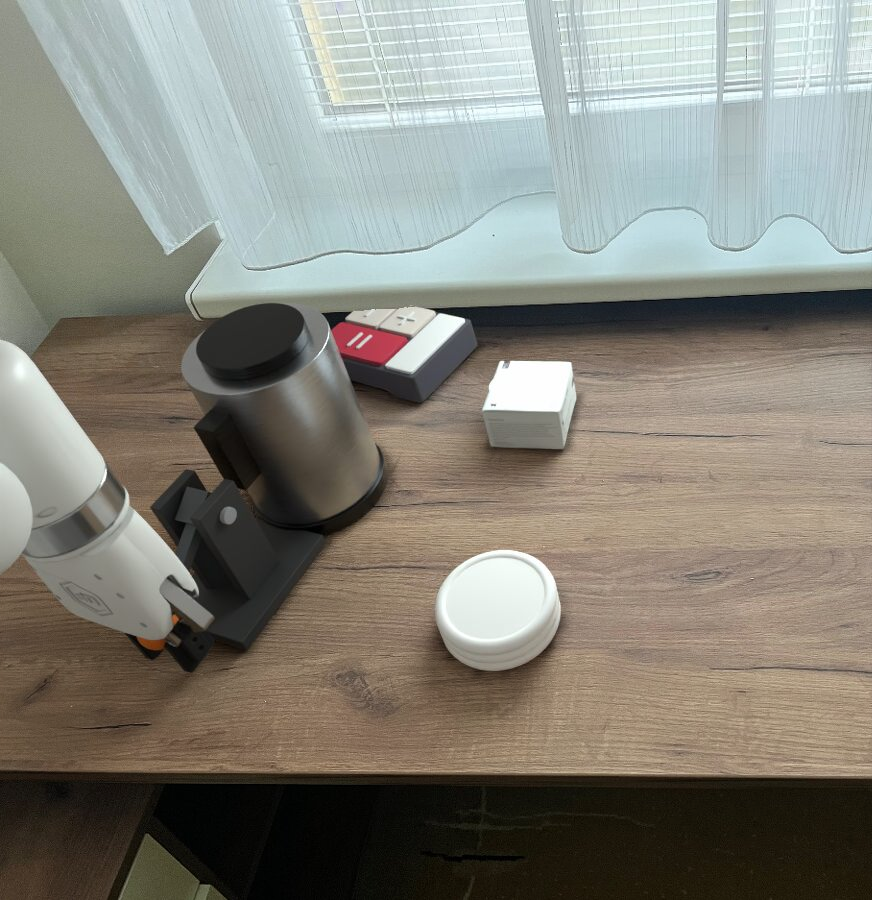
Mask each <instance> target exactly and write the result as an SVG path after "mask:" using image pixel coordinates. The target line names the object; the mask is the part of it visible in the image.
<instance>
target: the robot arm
mask: <svg viewBox="0 0 872 900" xmlns="http://www.w3.org/2000/svg"><path fill="white" fill-rule="evenodd" d="M130 503H131V502H130V495H129V492H128V490H127V488H126V487H125V486H124V484H123V483H122V481H121V480H120V479H119V478H118V476H117V475H116V473H115V471H113V469H112V468H111V467H110V465H109V464H108V462H107V461H106V459H104V457H103V456H102V454H101V453H100V452H99V450H98V449H97V447H96V446H95V444H94V443H93V442H92V441H91V439H90V438H89V437H88V435H87V433H86V432H85V431H84V429H83V428H82V426H80V424H79V423H78V421H77V420H76V419H75V417H74V416H73V414H72V413H71V412H70V410H69V409H68V408H67V407H66V405H65V404H64V402H63V401H62V399H61V398H60V397H59V395H58V393H56V391H55V389H54V388H53V386H51V384H50V383H49V381H48V380H47V379H46V377H45V376H44V375H43V373H42V372H41V371H40V369H39V368H38V366H37V365H36V364H35V362H34V361H33V360H32V359H31V358H30V356H29V355H28V354H27V353H26V352H25V351H23V350H22V349H21V347H18V346H17V345H16V344H14V343H12V342H9V341H7V340H3V339H0V575H2V574H3V573H5V572H6V571H7V570H9V569H10V568H11V567H12V565H13V564H14V563H15V562H16V561H17V560H18V559H19V558H20V556H22V557H24V559H25V561H26V562H27V563H28V564H29V566H30V567H31V568H32V570H33V571H34V572H35V573H36V575H37V576H38V577H39V578H40V580H41V581H42V583H44V584H45V586H46V587H47V588H48V590H49V591H50V592H51V593H52V594H53V595H54V597H55V598H56V599H57V600H58V601H59V602H60V603H61V605H62V606H63V607H64V608H65V609H66V610H67V611H68V612H70V613H72V614H73V615H74V616H77V617H79V618H82V619H84V620H87V621H89V622H92V623H95V624H98V625H101V626H104V627H107V628H109V629H113V630H116V631H119V632H121V633H124V635H125V636H126V638H128V639H129V640H130V642H131V643H132V644H133V645H134V646H135V647H136V649H137V650H138V651H139V652H140V653H141V654H142V655H143V657H144V658H145V659H147V660H151V661H154V660H156V659H158V658H159V656H161V654H162V652H163V651H164V650H166V652H167V653H168V654H169V655H170V657H172V659H173V660H174V661H175V662H176V663H177V664H178V666H179V667H180V668H181V669H182V670H183V671H184V672H186V673H189V674H192V673H193V672H195V671H196V669H197V668H198V666H199V665H200V664H201V663H202V661H203V660H204V659H205V657H206V656H207V655H208V654H209V652H210V650H211V649H212V648H213V646H215V640H214V639H213V638H212V636H211V635H210V634H209V632H208V631H207V630H206V629H207V628H208V627H209V626H210V624H211V623H212V622H213V620H214V619H215V617H214V616H213V615H212V614H211V613H210V612H208V611H207V610H206V609H205V608H204V607H202V606H201V605H200V604H199V603H197V602H196V601H195V600H194V599H193V598H196V597H198V596H199V590H198V587H197V585H196V583H195V581H194V579H193V578H192V576H193V575H191V573H190V571H189V572H188V570H187V569H186V568H185V566H184V565H183V564H182V562H181V561H180V560H179V559H178V557H177V556H176V555H175V552H174V551H173V550H172V549H171V548H170V546H169V545H168V544H167V542H165V540H163V538H162V537H161V536H160V535H159V534H158V532H156V530H154V529H153V527H152V526H151V525H150V524H149V523H148V522H147V521H146V520H145V519H144V517H142V516H141V515H140V514H139V512H137V510H136V509H134V508H133V507H132V506H131V505H130ZM191 597H192V598H191ZM175 613H176V614H177V615H178V616H180V617H181V618H180V619H179V620H178V621H177V623H176V624H175V625H174V626H173V619H172V616H173V615H174V614H175ZM137 637H141V638H144V639H148V640H160V639H164V640H165V641H166V643H165V645H164V648H165V649H162V650H150V649H148V648H145V647H144V646H143V645H141V644H140V642H139V641H138V639H137Z"/></svg>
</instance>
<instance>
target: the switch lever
mask: <svg viewBox="0 0 872 900" xmlns="http://www.w3.org/2000/svg"><path fill="white" fill-rule="evenodd" d="M211 493H212V492H209V491H208V490H207V491H203V490H199V489H195V488H191V487H186V490H185V493H184V496H183V498H182V501H181V504H180V507H179V510H178V512H177V515H176V518H175V520H178V521H181V522H185V523H186V525H185V528H184V531H183V533H182V536H181V539H180V542H179V545H178V547H177V546H176V550H175V552H174V554H175V555H176V556H177V557H178V559H179V560H180V561H181V562H182V564H183V565H184V566H185V568H186V569H187V570H188V572H189V573H190V571H191V569H192V568H191V566H192V563H193V560H194V557H195V554H196V551H197V549H198V546H199V543H200V540H201V537H202V536H201V535H200V533H199V532H198V530H197V529H196V527H195V526H194V524H193V523H192V521H191V520H190V517H191V515H192V514H193V513H194V512H195V511H196V510H197V509H198V508H199V506H200V505H201V504H202V503H203V502H204V501H205V500H206V499H207V498H208V496H209V495H210V494H211ZM172 619H173V626H174V625H175V624H176V623H177V621H178V620H179V619H178V617H177V616H176V615H175V614H174V615H173V616H172ZM137 639H138V641H139V642H140V644H141V645H143V646H144V647H145V648H148V649H150V650H162V649H164V650H166V649H165V648H164V645H165V643H166V641H165V640H164V639H160V640H148V639H144V638H141V637H137Z"/></svg>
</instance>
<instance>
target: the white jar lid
mask: <svg viewBox="0 0 872 900" xmlns="http://www.w3.org/2000/svg"><path fill="white" fill-rule="evenodd" d="M561 606H562V605H561V602H560V596H559V592H558V588H557V583H556V580H555V577H554V575H553V574H552V573H551V571H550V570H549V569H548V567H547V566H546V565H545V564H544V563H543V562H542V561H541V560H539V559H538V558H536V557H534V556H532V555H530V554H528V553H525V552H521V551H517V550H511V549H499V550H491V551H487V552H483V553H480V554H477V555H475V556H473V557H470V558H468V559H467V560H465V561H463V562H461V563H460V564H459V565H458V566H457V567H455V568H454V569H453V570H452V571H451V572H450V573H449V574H448V575H447V576H446V578H445V579H444V580H443V582H442V584H441V585H440V587H439V589H438V592H437V595H436V597H435V602H434V621H435V623H436V626H437V628H438V630H439V635H441V638H442V642H443V643H444V645H445V648H446V649H447V651H448V652H449V653H450V654H451V655H452V656H453V657H454V658H455V659H457V660H458V661H459V662H460V663H462V664H463V665H465V666H468V667H470V668H473V669H475V670H480V671H487V672H499V671H506V670H511V669H515V668H517V667H520V666H523V665H525V664H527V663H528V662H530V661H532V660H534V659H535V658H536V657H537V656H539V655H540V654H541V653H542V652H543V651H544V650H545V649H546V648H548V646H549V645H550V643H551V642H552V641H553V639H554V637H555V635H556V633H557V630H558V628H559V625H560V621H561V615H562V614H561V613H562V607H561Z"/></svg>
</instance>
